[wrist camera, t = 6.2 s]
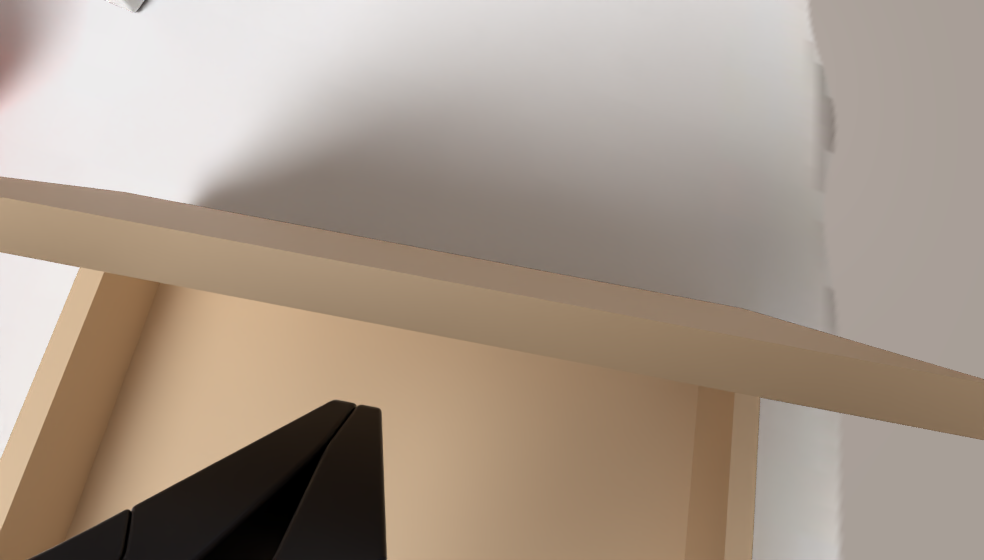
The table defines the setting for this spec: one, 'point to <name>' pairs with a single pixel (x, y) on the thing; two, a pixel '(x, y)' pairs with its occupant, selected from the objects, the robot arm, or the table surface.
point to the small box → (127, 4)
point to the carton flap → (482, 303)
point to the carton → (405, 426)
